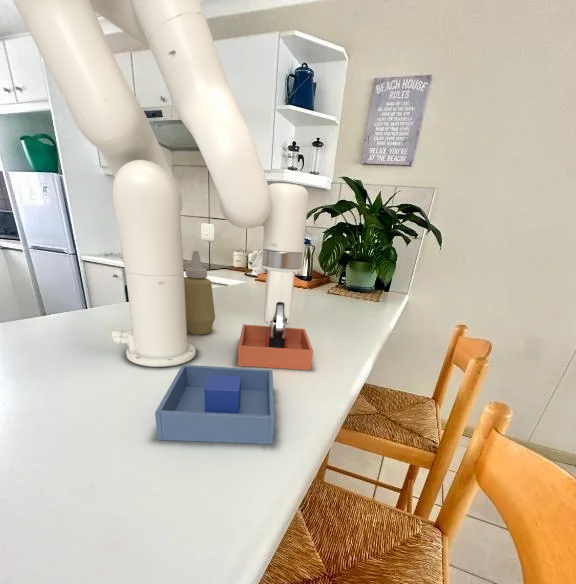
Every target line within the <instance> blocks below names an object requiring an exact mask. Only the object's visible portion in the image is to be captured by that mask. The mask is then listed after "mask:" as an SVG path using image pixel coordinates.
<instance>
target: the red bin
mask: <svg viewBox="0 0 576 584" xmlns="http://www.w3.org/2000/svg"><path fill="white" fill-rule="evenodd" d="M266 328H270V325H256V324H242V327H241V330H240V331H241V333H240V337H239V341H238V346H237V366H238V367H251V368H253V367H254V368H269V369H284V370H286V369H287V370H302V371H311V369H312V362H313V354H314V350H313V347H312V345H311V341H310V339H309V336H308V334H307V331H306V329H305V328H298V327H297V328H296V327H285V330H287V331H288V335H289V339H288V348H272V347H265V341H266Z"/></svg>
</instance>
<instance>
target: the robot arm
mask: <svg viewBox="0 0 576 584" xmlns="http://www.w3.org/2000/svg"><path fill="white" fill-rule="evenodd" d="M12 1H13V3H14V5H15V7H16V10H17V11H18V13H19V15H20V17H21V19H22V21H23V22H24V25H25V26H26V28H27V31H28V32H29V34H30V37H31V38H32V39H33V42H34V43H35V46H36V48H37V50H38V52H39V54H40V56H41V58H42V60H43V62H44V63H45V66H46V67H47V69H48V70H49V73H50V75H51V77H52V79H53V81H54V83H55V84H56V86H57V89H58V90H59V92H60V94H61V96H62V98H63V99H64V101H65V103H66V106H67V107H68V110H69V112H70V114H71V115H72V117H73V120H74V122H75V124H76V125H77V127H78V129H79V131H80V133H81V134H82V135H83V137H84V138H85V140H87V141H88V142H89V143H90V144H91V145H92V146H93V147H95V148H96V149H97V150H99V152H100V153H101V155H102V156H103V158H104V161H105V162H106V164H107V166H108V168H109V170H110V172H111V173H112V176H113V177H114V178H113V181H112V182H113V183H112V189H111V193H112V194H111V197H112V205H113V211H114V216H115V221H116V225H117V230H118V235H119V240H120V245H121V246H120V247H121V253H122V260H123V268H124V274H125V279H126V280H125V282H126V290H127V297H128V305H129V313H130V320H131V321H130V322H131V328H132V329H130V330H129V331H124V330H115V329H113V330H112V331H111V335H110V336H111V339H112V342H113V344H115V345H126V346H127V348H126V350H125V355H126V358H127V360H128V361H130V362H132V363H133V364H136V365H139V366H143V367H144V366H145V367H151V368H163V367H174V366H178V365H183V364H185V363H188V362H189V361H191V360H192V359H194V358H195V356H196V355H197V354H196V352H197V350H196V347H195V346H194V344H192V343H190V342H189V341H188V332H187V329H186V308H185V287H184V278H185V272H184V256H183V254H184V252H183V238H182V237H183V236H182V210H183V198H182V197H183V196H182V193H181V190H180V188H179V185H178V183H177V181H176V179H175V177H174V175H173V172H172V170H171V168H170V166H169V164H168V161H167V159H166V157H165V155H164V153H163V150H162V148H161V146H160V144H159V142H158V139H157V136H156V135H155V132H154V130H153V128H152V126H151V123H150V121H149V119H148V117H147V115H146V113H145V110H144V108H143V106H142V105H141V103H140V101H139V100H138V98H137V96H136V95H135V94H134V92H133V91H132V89H131V87H130V86H129V83H128V82H127V80H126V78H125V76H124V75H123V72H122V70H121V68H120V66H119V63H118V62H117V60H116V57H115V56H114V53H113V51H112V49H111V47H110V45H109V42H108V40H107V38H106V35H105V33H104V30H103V28H102V25H101V23H100V21H99V19H98V17H97V14H98V15H99V16H100V17H102V18H103V19H105V20H106V21H108V22H109V23H110V24H112V25H114V26H115V27H116V28H117V29H120V30H121V31H122V32H124V33H125V34H126V35H128V36H130V37H131V38H133V40H135V41H137V42H139V43H140V44H141V45H143V46H144V47H146V48H148V49H150V51H151V53H152V56H153V59H154V60H155V62H156V65H157V68H158V70H159V72H160V74H161V78H162V79H163V82H164V84H165V86H166V89H167V90H168V94H169V97H170V98H171V99H170V100H171V102H172V104H173V106H174V108H175V111H176V112H177V114H178V116H179V118H180V120H181V122H182V124H183V125H184V126H185V127H186V128H187V130H188V132H190V134H191V136H192V138H193V139H194V141H195V144H196V146H197V147H198V149H199V151H200V153H201V156H202V158H203V161H204V162H205V165H206V167H207V169H208V172H209V174H210V177H211V179H212V182H213V184H214V186H215V189H216V192H217V194H218V196H219V197H218V202H219V203H218V205H219V209H220V212H221V215H222V216H223V218H224V220H226V221H227V222H228V223H229V224H231V225H232V226H235V227H237V228H241V229H246V230H249V229H250V230H251V229H255V228H258V227H262V228H263V233H262V234H263V238H262V257H261V268H262V269H264V270H266V278H265V293H264V308H263V309H264V313H263V314H264V315H263V319H264V320H263V321H264V323H265V324H269V323H270V325H269V326H270V328H271V337H269V347H272V348H285V328H286V326H287V325H289V324H290V322H291V321H290V320H291V316H292V315H291V314H292V309H293V307H292V306H293V299H294V288H295V276H296V273H300V272H302V268H303V267H302V266H303V257H304V248H305V236H306V228H307V217H308V208H309V207H308V206H309V192H308V190H307V189H306V187H304V186H302V185H299V184H293V183H287V182H286V183H285V182H274V183H271V184H269V182H268V179H267V177H266V174H265V171H264V168H263V166H262V161H261V159H260V157H259V154H258V150H257V147H256V144H255V142H254V140H253V137H252V134H251V131H250V129H249V127H248V124H247V123H246V120H245V118H244V116H243V113H242V111H241V109H240V107H239V105H238V101H237V100H236V97H235V95H234V94H233V91H232V89H231V87H230V84H229V81H228V78H227V76H226V73H225V69H224V67H223V64H222V61H221V58H220V57H219V54H218V49H217V47H216V44H215V42H214V38H213V36H212V32H211V29H210V27H209V25H208V24H209V23H208V20H207V17H206V14H205V11H204V9H203V6H202V2H201V0H12Z"/></svg>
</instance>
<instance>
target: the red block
mask: <svg viewBox="0 0 576 584" xmlns="http://www.w3.org/2000/svg"><path fill="white" fill-rule="evenodd" d="M269 337H271V328H266V341H265V347H269ZM288 339H289V335H288V331H287V330H285V348H288Z"/></svg>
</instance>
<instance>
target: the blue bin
mask: <svg viewBox="0 0 576 584" xmlns="http://www.w3.org/2000/svg"><path fill="white" fill-rule="evenodd" d="M273 374H274V373H273V369H260V368H247V367H246V368H244V367H227V366H212V365H211V366H210V365H209V366H208V365H195V364H181V366H180V368H179V370H178V371H177V373H176V375H175V377H174V378H173V380H172V382H171V383H170V385H169V387H168V389H167V390H166V393H165V394H164V396H163V398H162V399H161V401H160V402H159V404H158V407H157V408H156V410H155V411H154V418H155V425H156V426H155V427H156V435H157V441H175V442H176V441H179V442H180V441H182V442H202V443H205V442H206V443H232V444H257V445H259V444H260V445H273V442H274V434H275V433H274V432H275V421H276V415H275V414H276V413H275V412H276V411H275V394H274V393H275V392H274V375H273ZM209 375H225V376H241V399H240V409H239V414H230V413H209V412H205V392H204V389H205V386H206V384H207V381H208V378H209Z"/></svg>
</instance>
